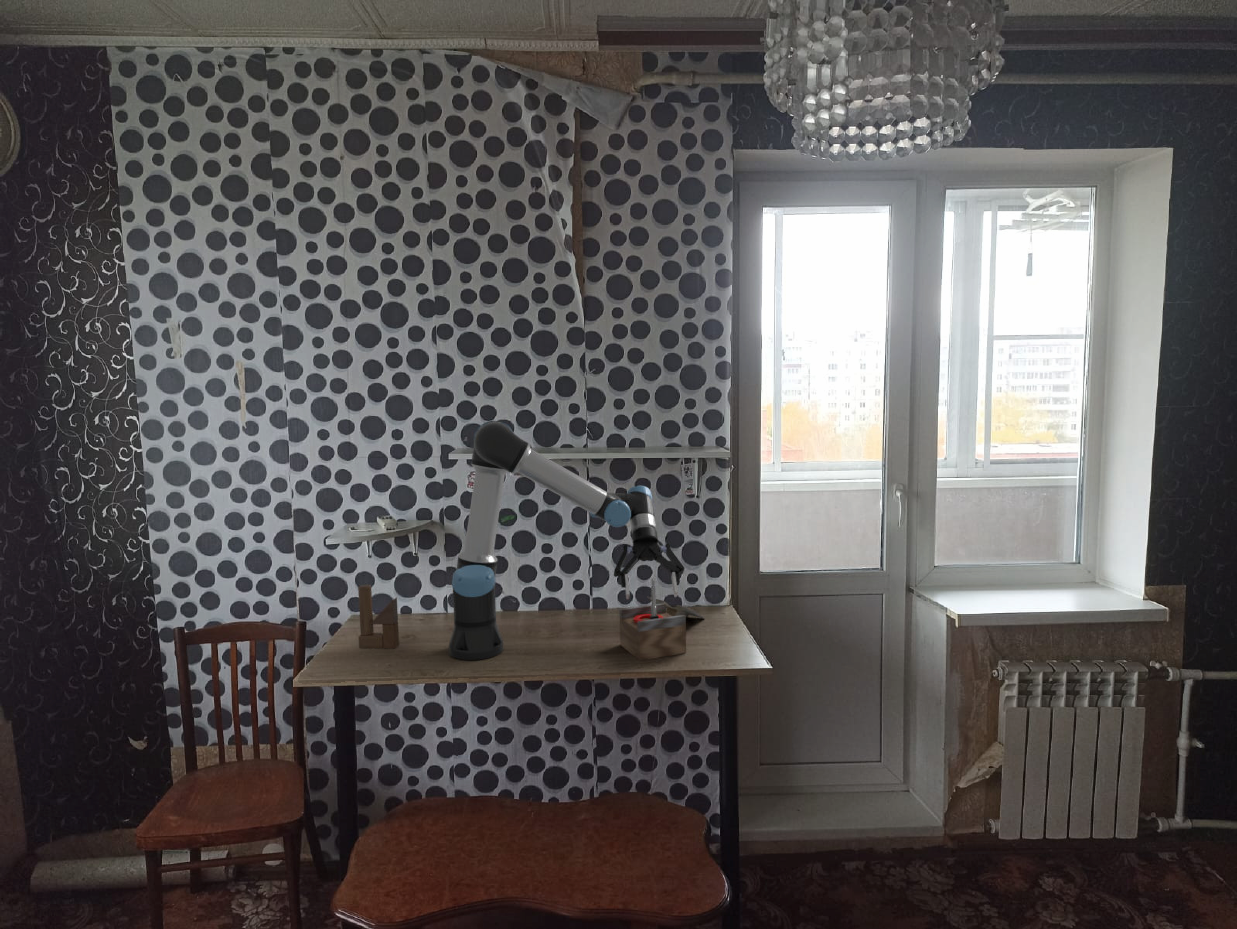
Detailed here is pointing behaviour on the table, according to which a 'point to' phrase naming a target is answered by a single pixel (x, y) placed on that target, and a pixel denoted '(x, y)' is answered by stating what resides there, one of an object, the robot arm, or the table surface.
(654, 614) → the tow hook
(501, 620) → the table surface
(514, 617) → the table surface
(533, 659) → the table surface
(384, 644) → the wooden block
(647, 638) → the open wooden crate
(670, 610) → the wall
